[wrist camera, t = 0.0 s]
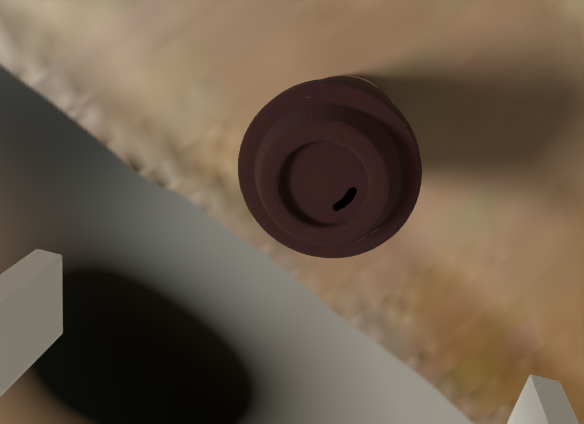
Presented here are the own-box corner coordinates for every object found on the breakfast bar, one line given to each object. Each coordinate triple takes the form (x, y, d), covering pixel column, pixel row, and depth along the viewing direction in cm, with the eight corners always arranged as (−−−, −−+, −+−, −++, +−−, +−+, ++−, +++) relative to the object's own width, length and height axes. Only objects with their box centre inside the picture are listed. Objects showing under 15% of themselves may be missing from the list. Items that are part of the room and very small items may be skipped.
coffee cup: (267, 77, 39) (202, 118, 26) (395, 38, 37) (398, 61, 23) (303, 195, 43) (263, 287, 29) (424, 167, 40) (442, 253, 26)
